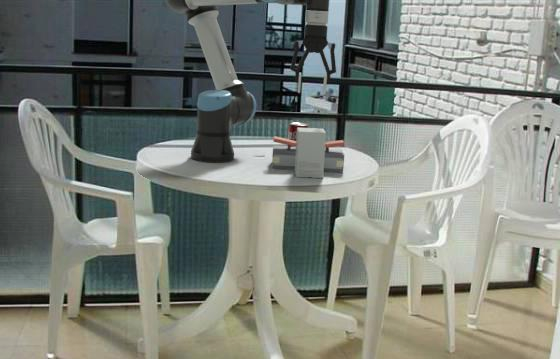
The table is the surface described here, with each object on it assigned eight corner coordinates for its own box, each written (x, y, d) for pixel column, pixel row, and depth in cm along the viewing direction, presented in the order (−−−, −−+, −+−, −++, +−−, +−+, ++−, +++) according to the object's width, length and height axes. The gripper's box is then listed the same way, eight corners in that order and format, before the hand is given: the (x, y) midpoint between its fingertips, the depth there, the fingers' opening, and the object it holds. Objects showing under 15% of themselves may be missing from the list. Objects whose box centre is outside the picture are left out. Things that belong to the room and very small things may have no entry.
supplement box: (321, 172, 229) (324, 128, 226) (323, 178, 221) (326, 132, 217) (293, 171, 229) (296, 126, 226) (295, 177, 220) (298, 131, 217)
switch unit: (271, 168, 231) (273, 147, 229) (272, 162, 241) (273, 141, 239) (343, 172, 231) (344, 151, 229) (340, 166, 241) (342, 145, 239)
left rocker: (273, 141, 232) (274, 138, 231) (273, 139, 236) (274, 136, 236) (304, 149, 232) (305, 145, 232) (304, 146, 236) (305, 143, 236)
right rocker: (311, 149, 232) (311, 145, 232) (311, 147, 236) (311, 143, 236) (344, 145, 232) (344, 142, 232) (343, 143, 236) (342, 140, 236)
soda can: (304, 158, 250) (307, 126, 247) (285, 156, 252) (287, 124, 249) (308, 155, 257) (310, 123, 254) (289, 153, 258) (291, 121, 256)
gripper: (285, 22, 224) (281, 92, 229) (348, 26, 224) (343, 96, 230) (284, 22, 231) (280, 90, 237) (346, 26, 232) (341, 93, 237)
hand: (311, 92), depth 233 cm, fingers open, 8 cm apart
